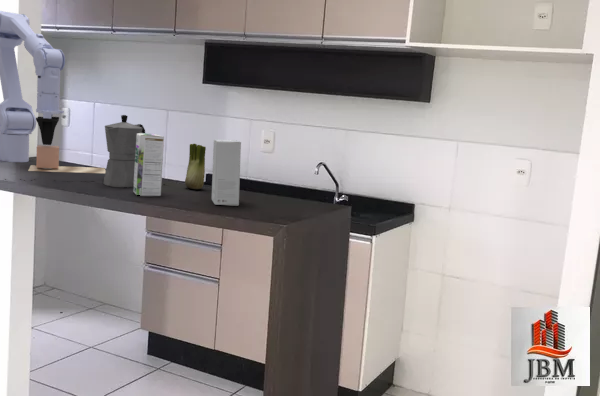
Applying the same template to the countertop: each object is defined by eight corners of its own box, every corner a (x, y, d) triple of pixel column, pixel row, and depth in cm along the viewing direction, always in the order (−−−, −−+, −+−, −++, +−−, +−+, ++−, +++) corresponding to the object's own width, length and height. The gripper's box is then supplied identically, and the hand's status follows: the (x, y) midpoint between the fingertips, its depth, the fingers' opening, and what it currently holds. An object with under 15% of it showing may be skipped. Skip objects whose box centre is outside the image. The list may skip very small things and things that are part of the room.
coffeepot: (121, 189, 153) (123, 116, 150) (89, 185, 156) (91, 113, 153) (156, 183, 167) (159, 116, 164) (127, 179, 170) (130, 113, 168)
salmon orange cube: (36, 167, 168) (36, 147, 167) (37, 165, 173) (37, 145, 173) (58, 168, 170) (58, 148, 169) (58, 165, 175) (59, 146, 175)
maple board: (28, 174, 165) (28, 170, 165) (30, 168, 176) (30, 165, 176) (106, 176, 172) (106, 173, 172) (104, 171, 183) (104, 167, 183)
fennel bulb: (205, 191, 162) (208, 145, 160) (187, 190, 160) (189, 144, 158) (200, 187, 167) (203, 143, 165) (182, 187, 165) (184, 142, 163)
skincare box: (239, 206, 143) (243, 142, 141) (212, 205, 142) (216, 140, 139) (234, 200, 151) (238, 139, 149) (209, 199, 150) (213, 137, 147)
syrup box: (132, 192, 150) (134, 132, 148) (157, 192, 153) (159, 133, 151) (136, 196, 145) (139, 134, 143) (162, 196, 148) (165, 135, 146)
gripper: (64, 95, 163) (62, 146, 166) (64, 94, 177) (63, 141, 179) (35, 93, 161) (34, 145, 163) (37, 92, 174) (36, 140, 176)
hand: (47, 143), depth 171 cm, fingers open, 7 cm apart
